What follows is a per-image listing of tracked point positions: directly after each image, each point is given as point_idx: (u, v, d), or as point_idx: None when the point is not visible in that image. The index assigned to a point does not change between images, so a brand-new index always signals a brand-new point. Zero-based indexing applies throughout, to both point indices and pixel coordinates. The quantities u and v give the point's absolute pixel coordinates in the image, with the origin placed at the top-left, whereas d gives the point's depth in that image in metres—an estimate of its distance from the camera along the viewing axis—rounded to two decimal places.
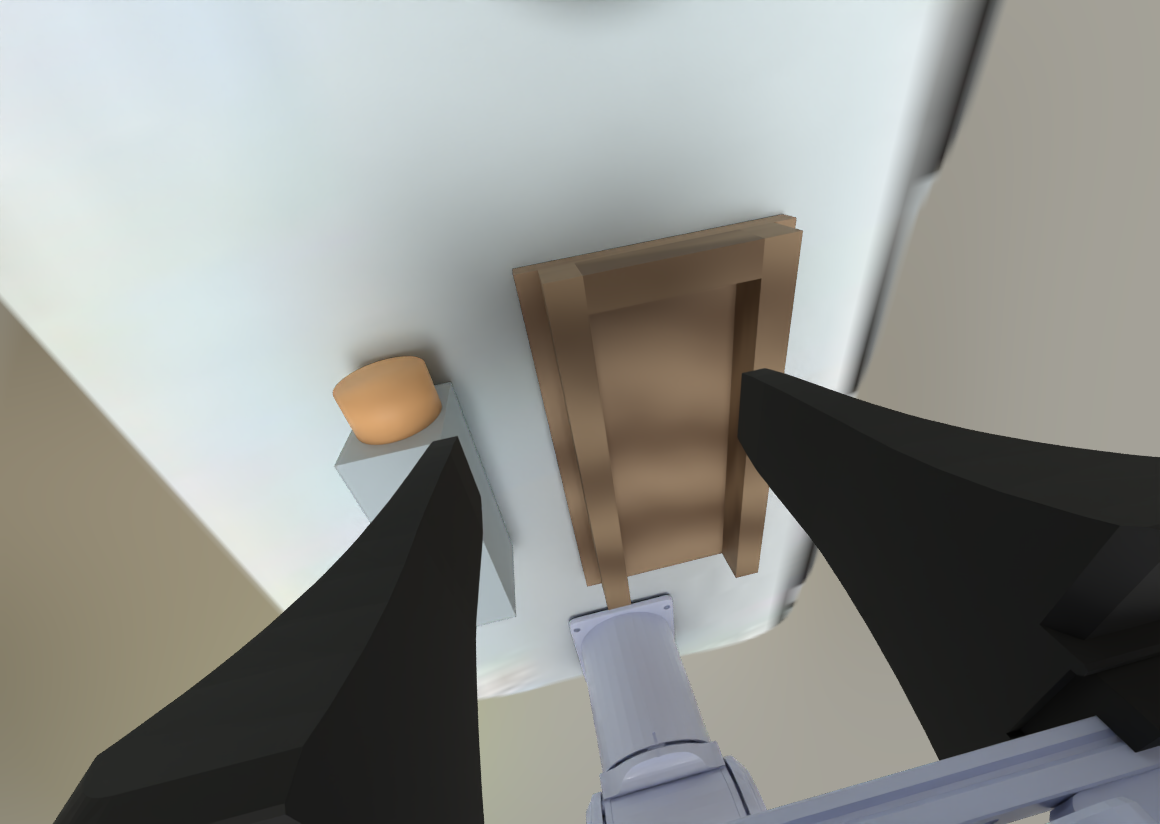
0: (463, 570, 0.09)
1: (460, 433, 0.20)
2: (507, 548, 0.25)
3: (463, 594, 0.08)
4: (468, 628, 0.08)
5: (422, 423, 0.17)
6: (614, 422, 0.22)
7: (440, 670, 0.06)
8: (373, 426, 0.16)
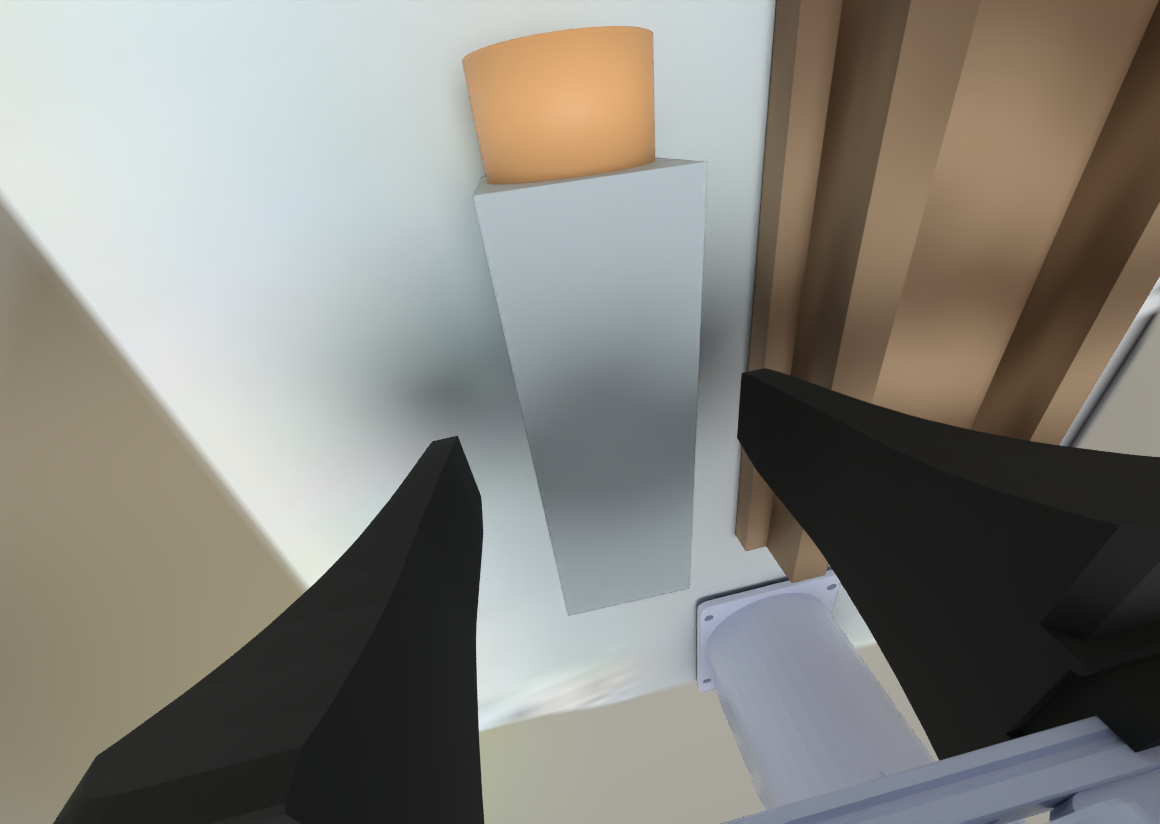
0: (463, 570, 0.09)
1: None
2: None
3: (463, 594, 0.08)
4: (468, 628, 0.08)
5: (643, 149, 0.08)
6: None
7: (440, 670, 0.06)
8: (559, 120, 0.07)
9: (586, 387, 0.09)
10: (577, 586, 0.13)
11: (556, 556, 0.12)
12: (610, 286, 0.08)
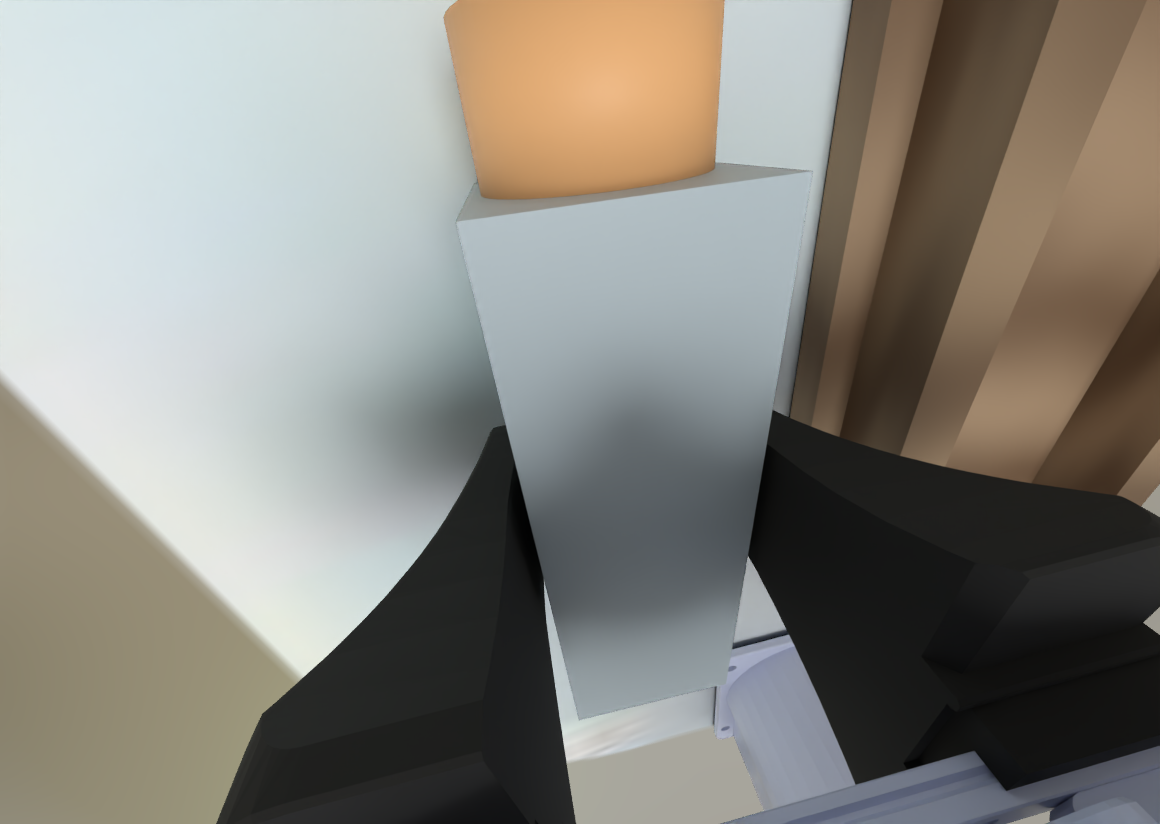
0: (533, 553, 0.09)
1: None
2: None
3: (535, 576, 0.08)
4: (541, 610, 0.08)
5: (705, 151, 0.06)
6: None
7: (534, 646, 0.07)
8: (589, 106, 0.05)
9: (615, 476, 0.07)
10: (591, 690, 0.10)
11: (567, 662, 0.09)
12: (656, 348, 0.06)
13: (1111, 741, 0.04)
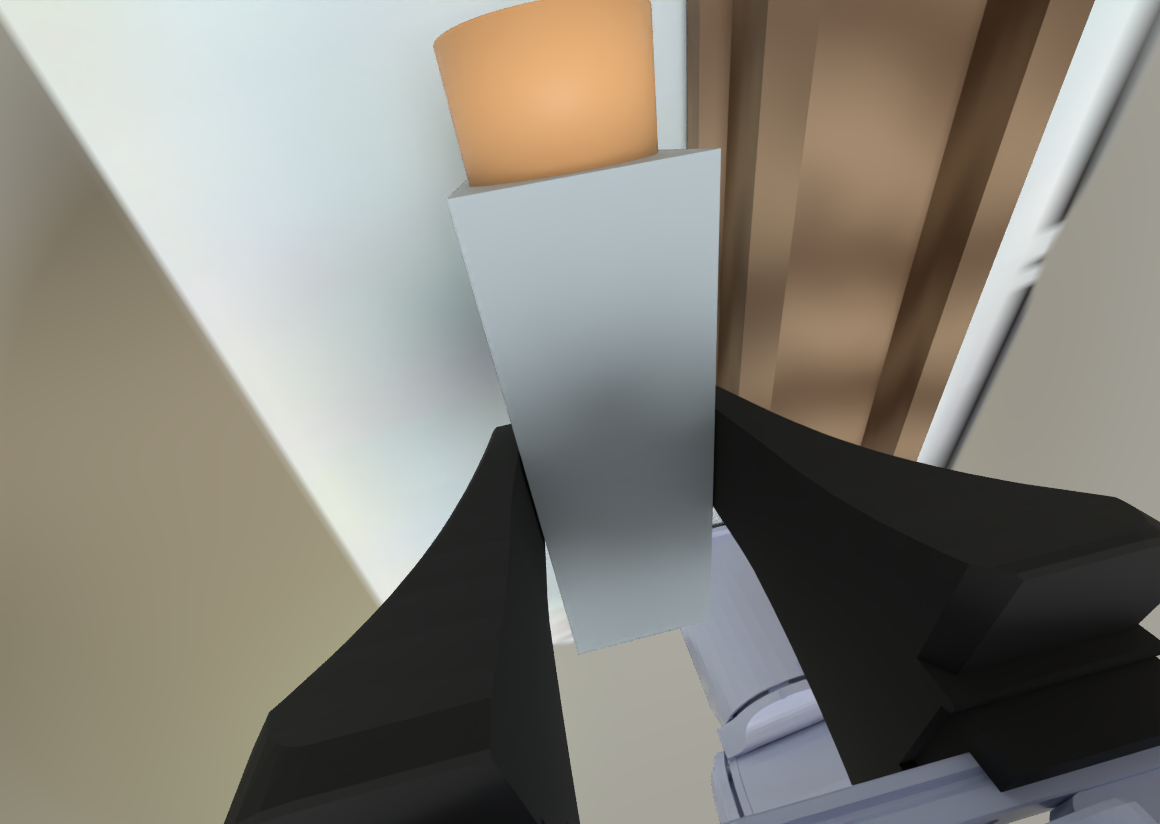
0: (536, 552, 0.09)
1: None
2: None
3: (539, 576, 0.08)
4: (544, 609, 0.08)
5: (644, 139, 0.07)
6: None
7: (538, 645, 0.07)
8: (546, 107, 0.06)
9: (589, 412, 0.08)
10: (587, 623, 0.12)
11: (562, 593, 0.11)
12: (612, 298, 0.07)
13: (1106, 742, 0.04)
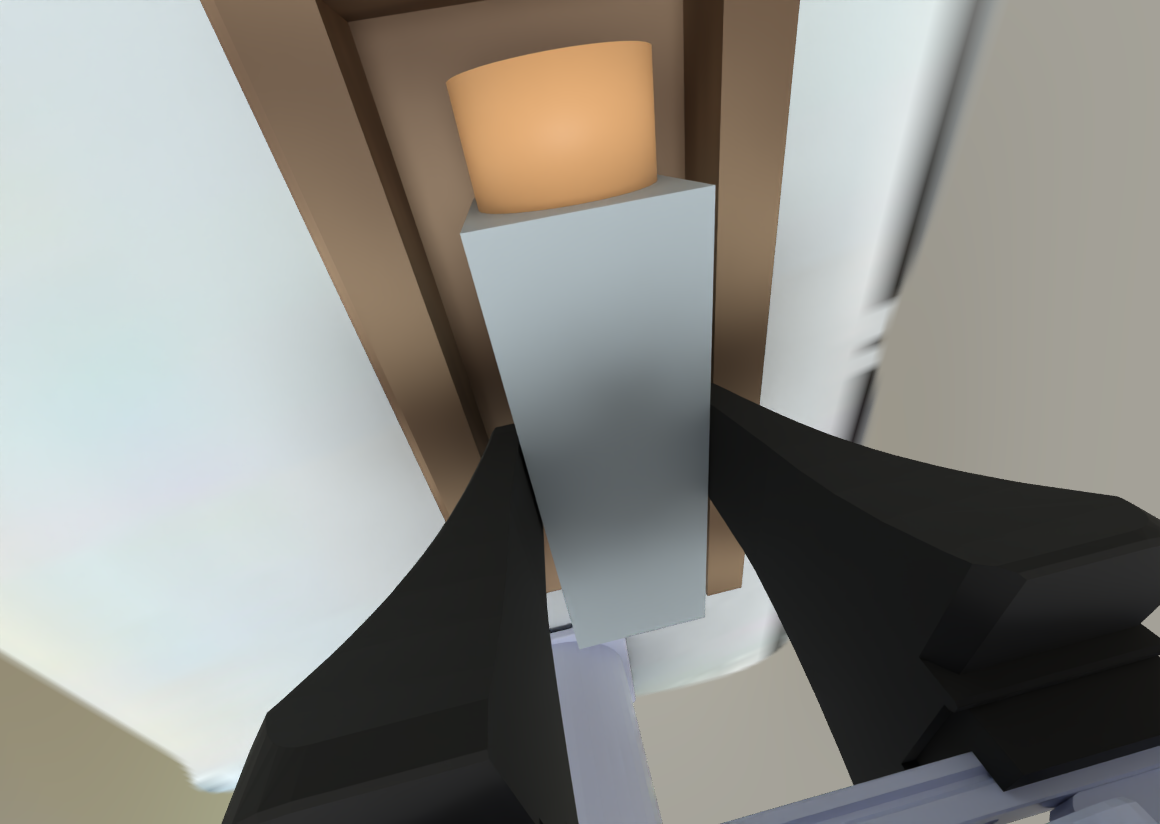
0: (536, 553, 0.09)
1: None
2: None
3: (538, 576, 0.08)
4: (543, 609, 0.08)
5: (644, 171, 0.07)
6: (479, 326, 0.12)
7: (537, 645, 0.07)
8: (552, 146, 0.07)
9: (591, 425, 0.09)
10: (587, 620, 0.12)
11: (564, 592, 0.11)
12: (613, 320, 0.07)
13: (1112, 743, 0.04)
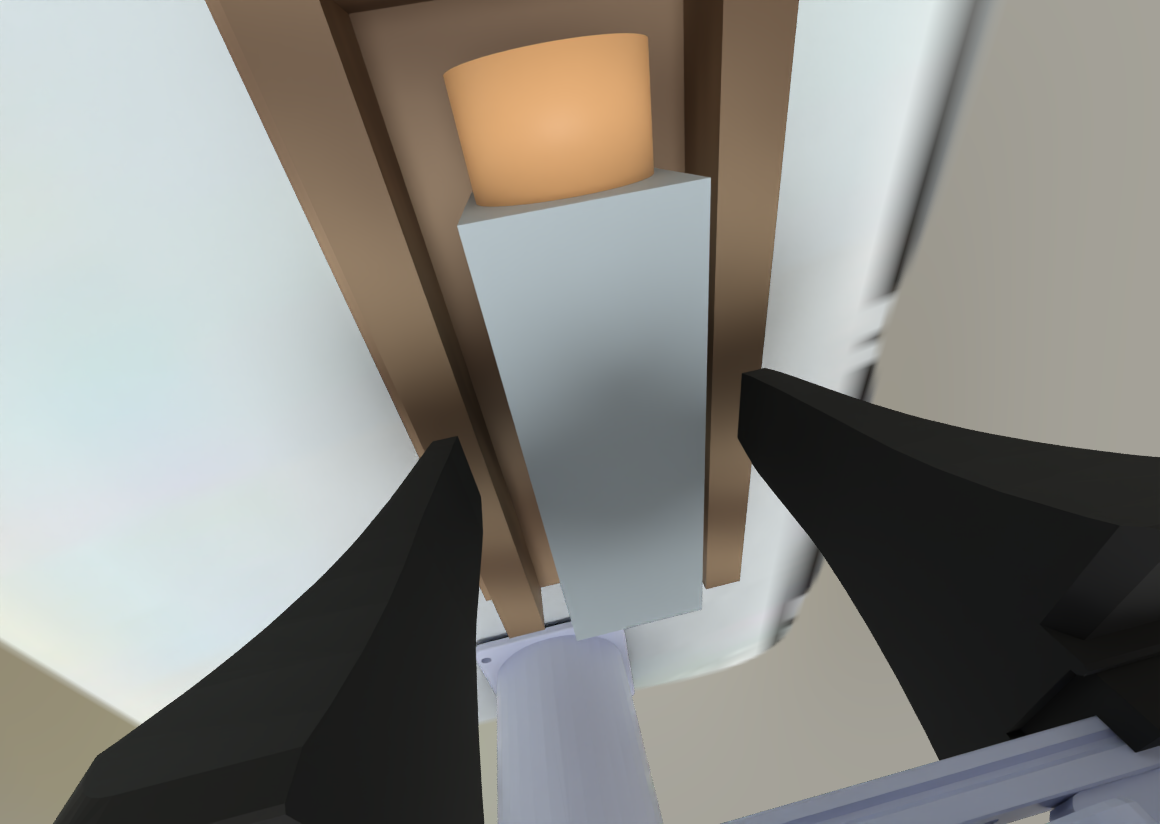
0: (463, 570, 0.09)
1: None
2: None
3: (463, 594, 0.08)
4: (469, 628, 0.08)
5: (640, 164, 0.07)
6: (479, 319, 0.12)
7: (440, 670, 0.06)
8: (548, 138, 0.07)
9: (587, 417, 0.09)
10: (585, 612, 0.12)
11: (562, 584, 0.11)
12: (610, 313, 0.08)
13: None
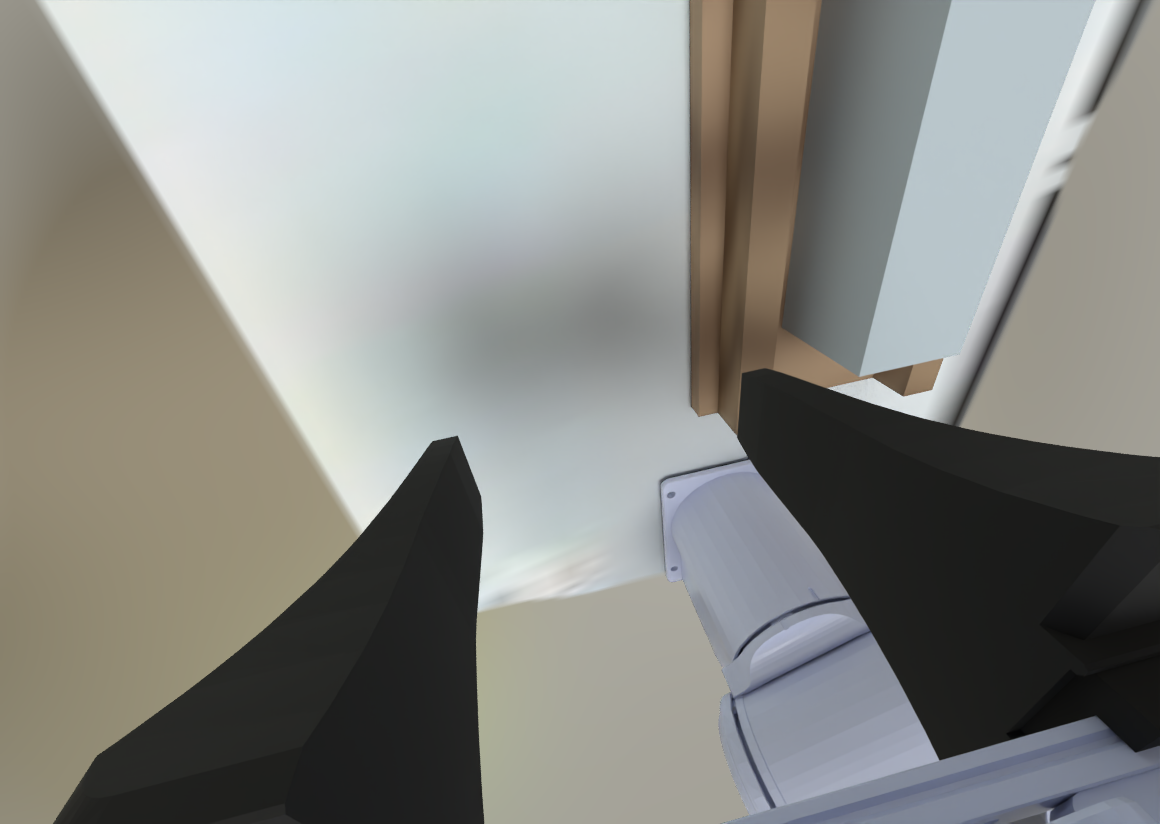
0: (463, 570, 0.09)
1: None
2: None
3: (463, 594, 0.08)
4: (469, 628, 0.08)
5: None
6: None
7: (440, 670, 0.06)
8: None
9: (976, 100, 0.11)
10: (880, 339, 0.15)
11: (879, 300, 0.14)
12: None
13: None
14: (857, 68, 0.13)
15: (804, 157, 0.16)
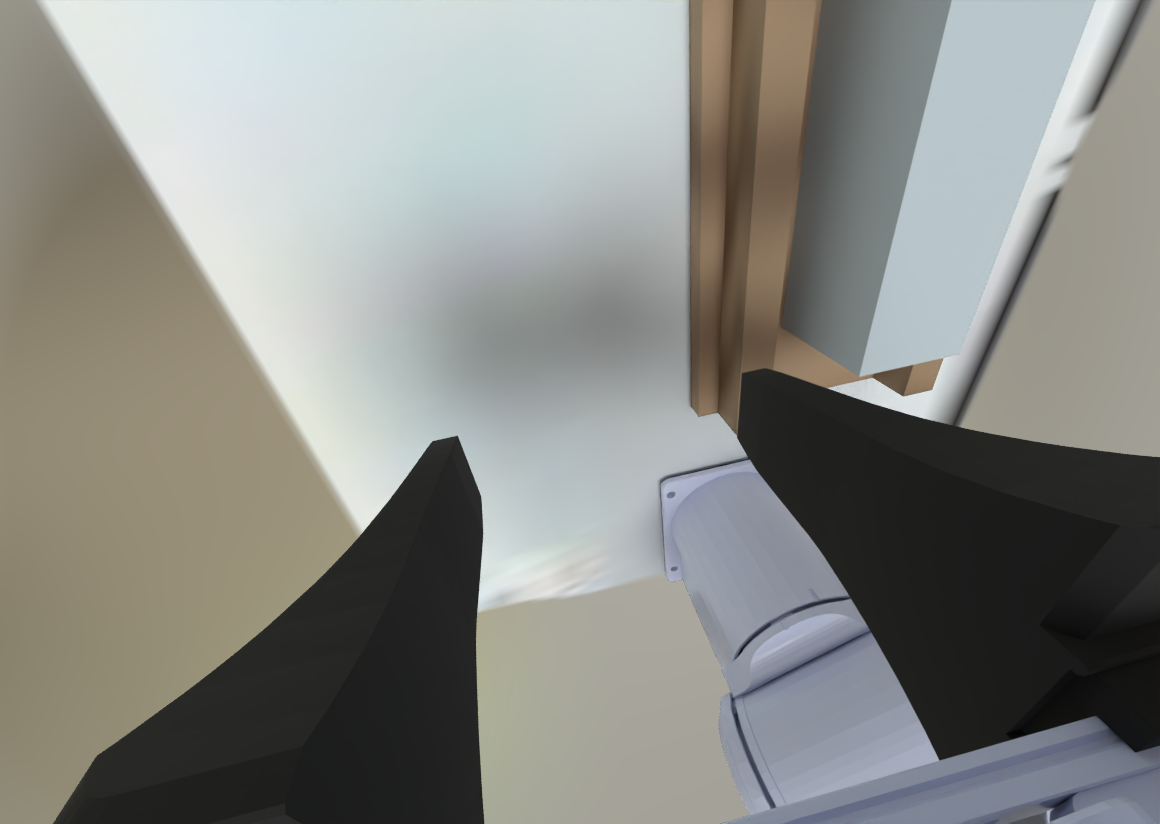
0: (463, 570, 0.09)
1: None
2: None
3: (463, 594, 0.08)
4: (469, 628, 0.08)
5: None
6: None
7: (440, 670, 0.06)
8: None
9: (976, 100, 0.11)
10: (880, 339, 0.15)
11: (879, 300, 0.14)
12: None
13: None
14: (857, 68, 0.13)
15: (804, 157, 0.16)
